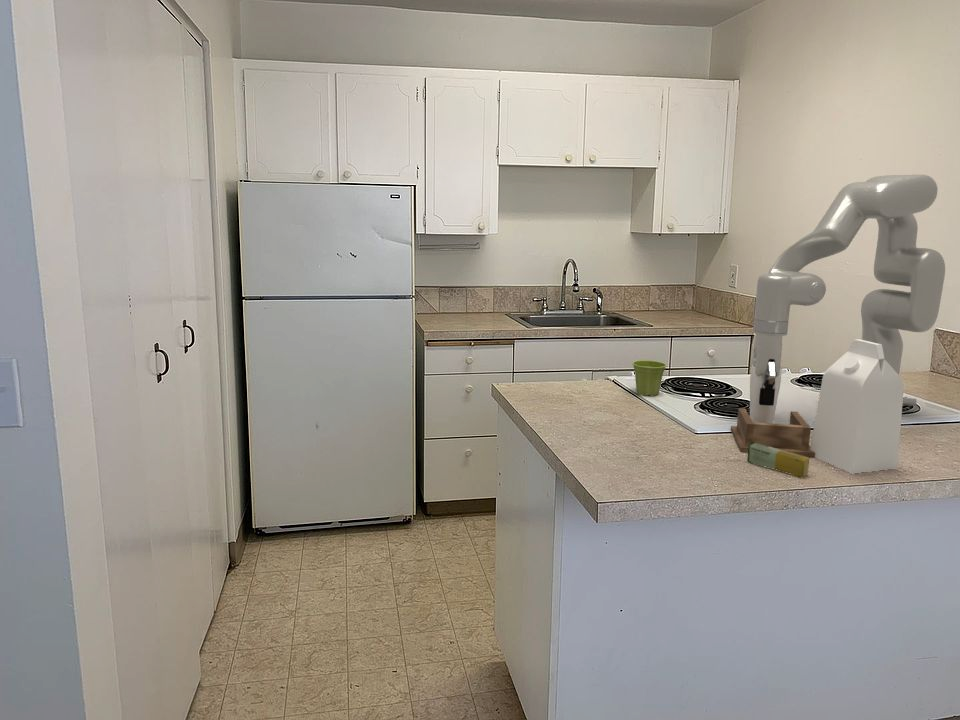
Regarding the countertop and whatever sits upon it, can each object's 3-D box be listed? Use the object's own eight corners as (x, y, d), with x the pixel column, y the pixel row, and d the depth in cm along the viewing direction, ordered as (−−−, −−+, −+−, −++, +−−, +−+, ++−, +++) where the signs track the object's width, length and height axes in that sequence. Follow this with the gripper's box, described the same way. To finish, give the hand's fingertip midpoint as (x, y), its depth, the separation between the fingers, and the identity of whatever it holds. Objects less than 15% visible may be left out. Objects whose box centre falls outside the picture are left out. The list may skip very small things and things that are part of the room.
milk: (897, 470, 147) (915, 346, 142) (851, 476, 144) (867, 349, 139) (852, 451, 159) (867, 335, 153) (808, 456, 155) (822, 337, 150)
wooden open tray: (797, 434, 169) (800, 409, 168) (814, 457, 154) (817, 430, 152) (730, 429, 172) (732, 405, 170) (740, 452, 156) (743, 425, 155)
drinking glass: (778, 432, 170) (784, 370, 167) (748, 430, 172) (753, 368, 168) (772, 423, 177) (779, 364, 174) (743, 422, 178) (749, 362, 175)
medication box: (745, 462, 151) (747, 444, 150) (752, 459, 153) (753, 441, 152) (802, 479, 142) (804, 460, 141) (808, 475, 144) (810, 456, 143)
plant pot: (643, 387, 211) (645, 358, 209) (671, 394, 204) (673, 364, 202) (623, 393, 204) (625, 363, 202) (652, 399, 198) (653, 368, 196)
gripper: (747, 320, 178) (741, 391, 182) (760, 332, 161) (752, 409, 165) (779, 322, 177) (772, 392, 180) (795, 334, 160) (787, 411, 164)
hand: (763, 400), depth 173 cm, fingers closed on drinking glass, 6 cm apart
